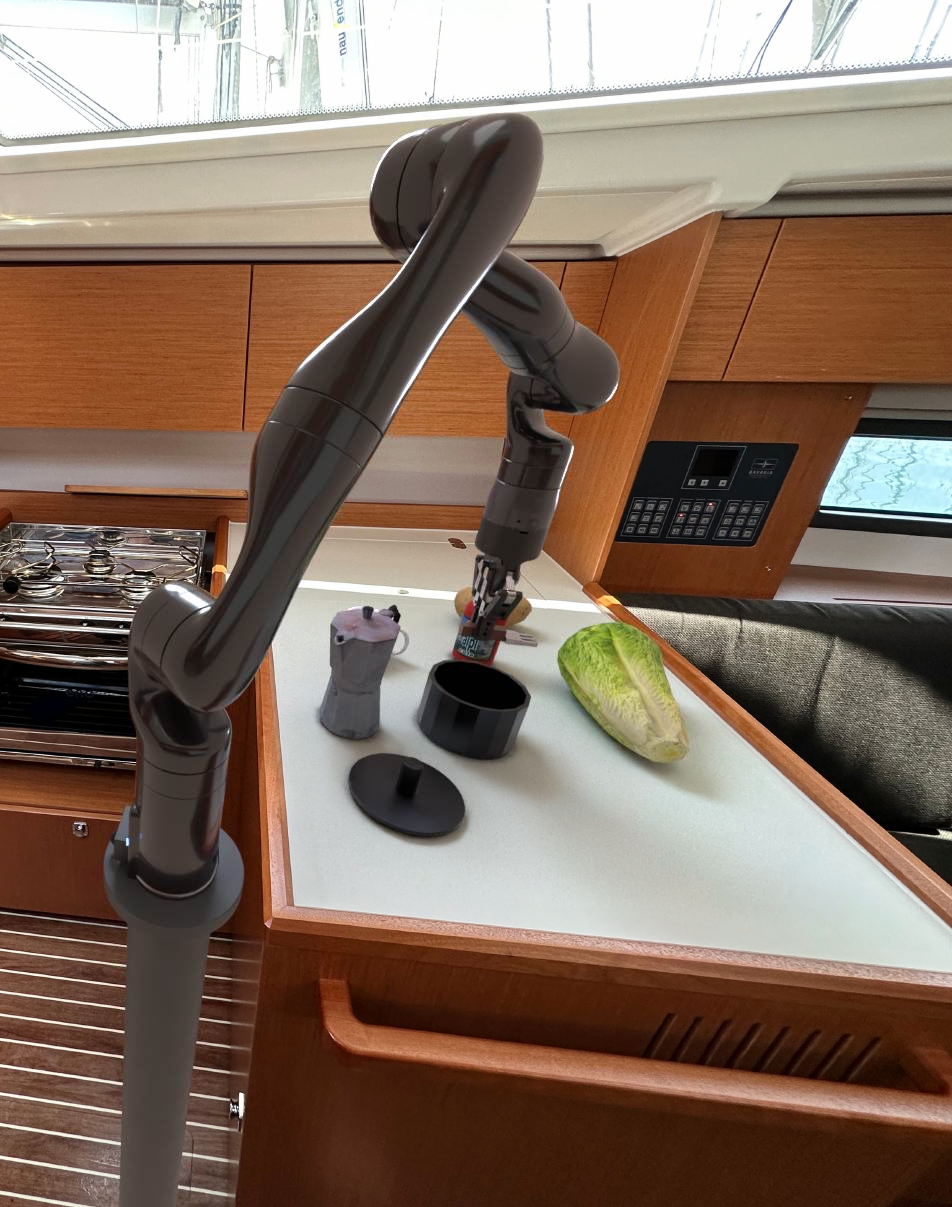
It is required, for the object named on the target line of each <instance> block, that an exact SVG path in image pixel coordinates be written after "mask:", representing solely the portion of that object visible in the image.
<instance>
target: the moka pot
mask: <svg viewBox="0 0 952 1207" xmlns="http://www.w3.org/2000/svg"><path fill="white" fill-rule="evenodd" d="M362 607H363V608H362V609H354V610H348V609H347V610H348V611H347V610H342V611H337V612H336V614H335V615H334V617H333V619H332V620H331V621H330V624H329V635H330V636H329V667H330V668H331V669H330V676H329V679H328V683H327V684H326V685H327V686H326V688H325V692H324V694H323V698H322V701H321V704H320V708H319V721H320V722H321V724H322V725H323V726H324V727H325V729H327V730H328V731H329V732H331V733H333V734H335V735H338V736H340V737H344V738H348V739H364V738H369V737H371V736H372V735H374V734H375V733H376V732H378V730H379V729H380V724H381V722H380V721H381V719H380V718H381V685H382V682H383V678H384V675H385V672H386V670H387V667H388V664H389V662H390V659H391V656H392V655H391V653H392V651H394V647H395V646H396V643H397V640H398V637H399V634H400V632H399V631H400V628H402V627H401V626H400V624H399V623H400V619H401V617H402V615H401V613H400V610H399V609H398V606H397V605H396V604H392V605H391V606H389V607H388V608H382V609H380V610H379V612H373V611H374V609H375V608H374V607H373V606H370V605H364V606H362Z"/></svg>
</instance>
